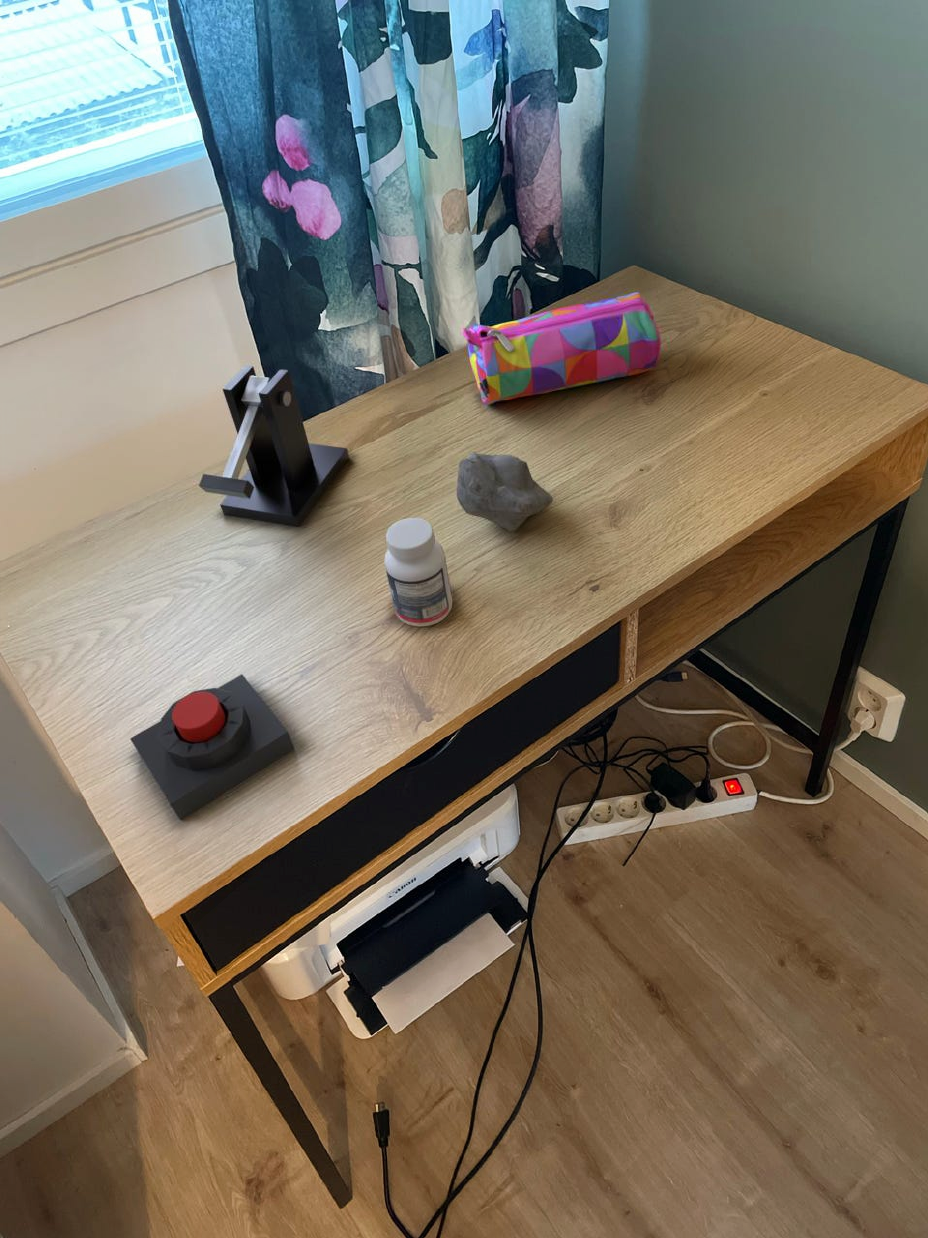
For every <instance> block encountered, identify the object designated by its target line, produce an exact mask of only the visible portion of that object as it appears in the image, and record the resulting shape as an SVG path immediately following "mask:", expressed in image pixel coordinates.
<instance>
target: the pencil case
mask: <svg viewBox="0 0 928 1238" xmlns="http://www.w3.org/2000/svg"><path fill="white" fill-rule="evenodd" d="M461 331H462V335H463V337H464V338H465V340H466V342H467V348H468V349H467V350H468V358H469V364H470V367H471V370H472V373H473V376H474V378H475V381H476V387H477V389H478V391H479V394H480V396H481V401H482V403H484V404H485V405H492V404H494V403H495V402H500V401H511V400H513V399H517V398H518V399H519V398H522V397H529V396H536V395H542V394H543V395H544V394H547V393H548V394H549V393H551V392H554V391H559V390H566V389H571V388H576V387H581V386H585V385H590V384H594V383H600V382H605V381H609V380H614V379H616V378H624V377H628V376H634V375H638V374H643V373H645V372H647V371H651V370H653V369H655V368H656V366H657V365H658V362H659V360H660V356H661V347H662V343H661V342H662V341H661V333H660V330H659V327H658V325H657V322H656V321H655V318H654V314H653V313H652V310H651V308H650V306H649V303H648V302H645V301H644V300H643V296H642V294H641V293H640V292H639V291H636V292H632V293H629V294H625V295H619V296H617V297H612V298H606V299H601V300H599V301H597V302H586V303H580V304H574V305H567V306H564V307H559V308H556V309H553V310H547V311H545V312H541V313H537V314H535V315H531V316H528V317H523V318H520V319H517V320H512V321H507V322H502V323H498V324H495V325H492V326H489V325H485V324H483V325H482V324H474V325H473V324H472V325H471V326H470V327H469V328H468V330H467V328H465V327H463V328H462V329H461Z"/></svg>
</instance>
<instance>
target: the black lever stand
mask: <svg viewBox="0 0 928 1238" xmlns="http://www.w3.org/2000/svg"><path fill="white" fill-rule="evenodd" d="M250 376H257V374H256V371H255V367H254V365H253V366H252V365H244V366H243V367H242V368H241V369H240V370H239V371H238V372H237V373H236V374H235V375H234V377H232V379H230V381H229V382H228V383H227V384H226V385H225V386H223V388H222V392H223V395H224V398H225V401H226V404H227V407H228V410H229V413H230V416H231V419H232V422H233V426H234V428H235V431H236V433H237V435H238V433H239V430H240V428H241V425H242V422H243V420H244V417H245V414H246V412H247V409H248V408H247V407H246V405H245V404H244V403H243V402H242V401H241V399H242V396H243V394H244V391H245V388H246V386H247V383H248V381H249V378H250ZM291 377H292V376H291V373H290V370H289V369H281V368H280V369H279V370H278V371H277V372H276V374H274V376H273V377H272V378H270V379H271V380H270V381H269V382H268V383H267V385H266V386H265V387H264V388H263V389H262V390H261V391H260V392H259V397H260V400H261V403H262V407H263V410H264V413H265V415H261V418H260V421H259V423H258V426H257V429H256V431H255V434H254V437H253V439H252V442H251V445H250V447H249V450H248V453H247V455H246V458H245V460H246V464H247V466H248V471H247V472H246V473H245V474H244V475H243V476H242V478H241V480H248V481H249V482H250V483H251V484H252V485H253V486H254V489H253V492H252V495H251V497H250V499H247V498H241V497H234V496H228V495H226V496H225V498H224V499H223V501H222V502H221V503H220V504H219V506H220V510H221V512H222V514H223V515H226V516H232V517H238V518H244V519H250V520H255V521H261V522H268V523H272V524H273V523H274V524H279V525H285V526H291V527H297V528H299V527H301V525H302V524H303V522H304V521H305V519H306V518H307V517H308V515H309V514H310V513H311V512H312V510H313V509H314V507H315V506H316V504H317V503H318V502H319V500H320V499H321V498H322V496H323V495H324V494H325V492H326V491H327V489H328V488H329V487H330V485H331V484H332V482H334V480H335V478H336V477H337V476H338V474H339V473H340V472H341V470H342V469H343V468H344V467H345V464H346V463H347V462H348V460H349V459H350V455H349V452H348V451H349V450H348V448H346V447H341V446H334V445H326V444H317V443H310V442H309V439H308V436H307V432H306V429H305V425H304V422H303V418H302V414H301V410H300V406H299V402H298V400H297V396H296V392H295V388H294V385H293V380H292V378H291Z"/></svg>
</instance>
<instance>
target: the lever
mask: <svg viewBox="0 0 928 1238" xmlns="http://www.w3.org/2000/svg"><path fill="white" fill-rule="evenodd" d="M271 379H272V378H270V377H266V376H257V375H256V376H250V378H249V381H248V383H247V386H246V388H245V391H244V394H243V396H242V399H241V401H242V402H243V403H244V404H245V405H246V407H247V408H248V409H247V412H246V414H245V417H244V420H243V422H242V425H241V428H240V430H239V433H238V434H237V435H236V439H235V441H234V444H233V446H232V449H231V451H230V454H229V457H228V459H227V462H226V464H225V467H224V470H223V473H222V475H221V476H220V475H216V474H215V475H214V474H207V473H202V477H201V479H200V482H199V484H198V487H200V488H201V489H202V490H203V491H204V492H205V493H210V494H216V495H222V496H234V497H241V498H247V499H250V497H251V495H252V492H253V489H254V486H253V485H252V484H251V483H250V482H249V481H248V480H241V479H242V478H241V479H240V478H239V477H240V474H241V471H242V468H243V466H244V464H245V460H246V455H247V453H248V450H249V447H250V445H251V442H252V439H253V437H254V434H255V431H256V429H257V426H258V423H259V421H260V418H261V415H265V413H264V410H263V407H262V403H261V400H260V397H259V392H260V391H261V390H262V389H263V388H264V387H265V386H266V385H267V383H268V382H269V381H270V380H271Z"/></svg>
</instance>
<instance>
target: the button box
mask: <svg viewBox="0 0 928 1238" xmlns="http://www.w3.org/2000/svg"><path fill="white" fill-rule="evenodd" d="M196 692H208V693H211V694H213V695H214V696H215V697H216V698H217V699H218V701H219V703H220V705H221V707H222V709H223V711H224V714H225V724H224V726H223V728H222V729H221V731H220V732H219V733H218V734H217V735H216V736H214V737H213V738H211V739H209V740H207V741H203V742H189V741H187V740H185V739H184V738H182V736H181V735H180V733H179V731H178V729H177V728H176V726H175V724H174V722H173V720H172V713H173V709H174V707H175V706H176V704H177V703H178V702H179V701H180V700H181V699H183V698H184V697H186V696H188V695H190V694H192V693H196ZM129 739H130V741H131V742H132V745H133V746H134V748H135V749H136V751H137V753H138V754H139V756H140V758H141V759H142V761H143V763H144V764H145V766H146V768H147V769H148V771H149V772H150V774H151V776H152V778H153V779H154V781H155V782H156V784H157V786H158V787H159V789H160V790H161V792H162V794H163V796H164V797H165V798H166V800H167V801H168V803H169V805H170V807H171V808H172V810H173V812H174V813H175V815H176V817H177V818H178V820H180V821H182V820H183V819H185V818H186V817H188V816H189V815H191V814H193V813H194V812H196V811H198V810H200V809H201V808H203V807H204V806H205V805H207V804H208V803H210V802H212V801H214V800H216V799H217V798H218V797H220V796H222V795H223V794H225V793H226V792H228V791H229V790H231V789H233V788H235V787H237V786H238V785H239V784H241V783H243V782H244V781H245V780H247V779H248V778H250V777H252V776H253V775H256V774H257V773H258V772H260V771H262V770H264V769H265V768H267V767H268V766H270V765H271V764H273V763H274V762H276V761H278V760H279V759H281V758H283V757H284V756H286V755H287V754H289V753H291V752H292V751H293V750H295V749H296V748H295V745H294V743H293V741H292V738H291V735H290V733H289V732H288V730H287V729H286V727H285V726H284V724H282V723H281V721H280V720H279V718H278V717H277V716H276V715H275V713H273V711H272V710H271V709H270V707H269V706H268V705H267V704H266V702H265V701H264V699H263V698H262V697H261V695H259V693H258V692H257V691H256V689H255V688H254V687H253V685H252V684H251V683H250V682H249V680H248V679H247V678H246V676H244V674H242V673H241V674H239V675H238V676H236V677H235V678H233V679H231V680H229V681H227V682H226V683H224V684H222V685H221V686H218V687H211V688H205V689H198V690H194V691H191V692H190V693H188V694H186V695H185V696H183V697H181V698H179V699H177V700H176V701H174V702H173V703H172V704H171V705H170V707H169V708H168V709H167V711H166V712H165V713H164V714H163V716H161V718H160V721H158V722H156V723H154V724H152V725H151V726H150V727H148V728H145V729H144V730H143V731H141V732H139V733H137V734H135V735H134V736H131V737H130V738H129Z"/></svg>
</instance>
